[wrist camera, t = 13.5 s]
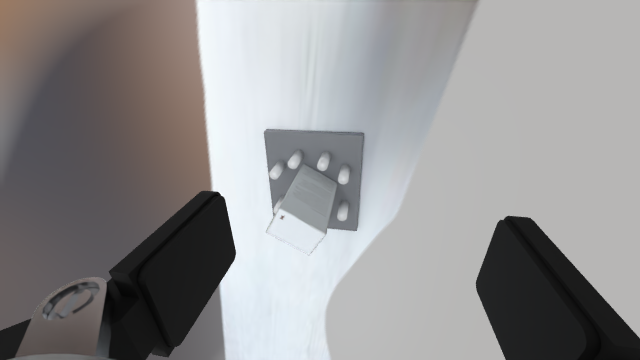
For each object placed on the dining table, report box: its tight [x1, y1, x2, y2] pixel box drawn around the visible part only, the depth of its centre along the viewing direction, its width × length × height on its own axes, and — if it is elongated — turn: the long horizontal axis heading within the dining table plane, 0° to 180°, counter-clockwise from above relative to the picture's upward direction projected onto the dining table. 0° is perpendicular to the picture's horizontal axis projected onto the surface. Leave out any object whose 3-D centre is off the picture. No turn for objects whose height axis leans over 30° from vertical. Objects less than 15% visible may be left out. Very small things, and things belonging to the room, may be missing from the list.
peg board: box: [264, 129, 363, 231], centre depth 39 cm, size 16×14×5 cm
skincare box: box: [266, 164, 337, 255], centre depth 35 cm, size 6×4×12 cm
